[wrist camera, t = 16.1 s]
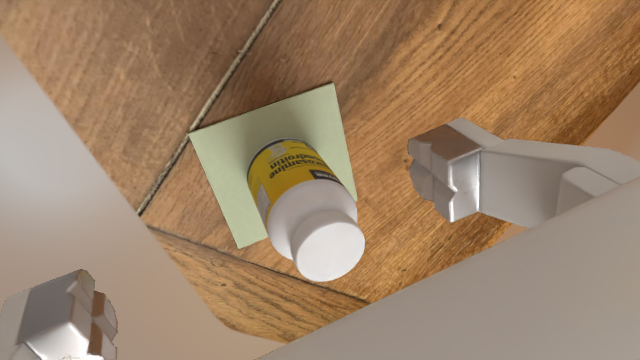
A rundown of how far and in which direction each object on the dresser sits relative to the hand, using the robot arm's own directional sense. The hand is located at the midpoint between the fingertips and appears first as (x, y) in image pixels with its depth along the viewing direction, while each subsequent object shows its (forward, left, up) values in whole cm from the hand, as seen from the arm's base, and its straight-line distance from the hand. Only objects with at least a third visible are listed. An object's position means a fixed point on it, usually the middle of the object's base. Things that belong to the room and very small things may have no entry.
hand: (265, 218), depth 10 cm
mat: (+4, -13, -23) cm, 26 cm away
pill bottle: (+4, -12, -23) cm, 26 cm away
